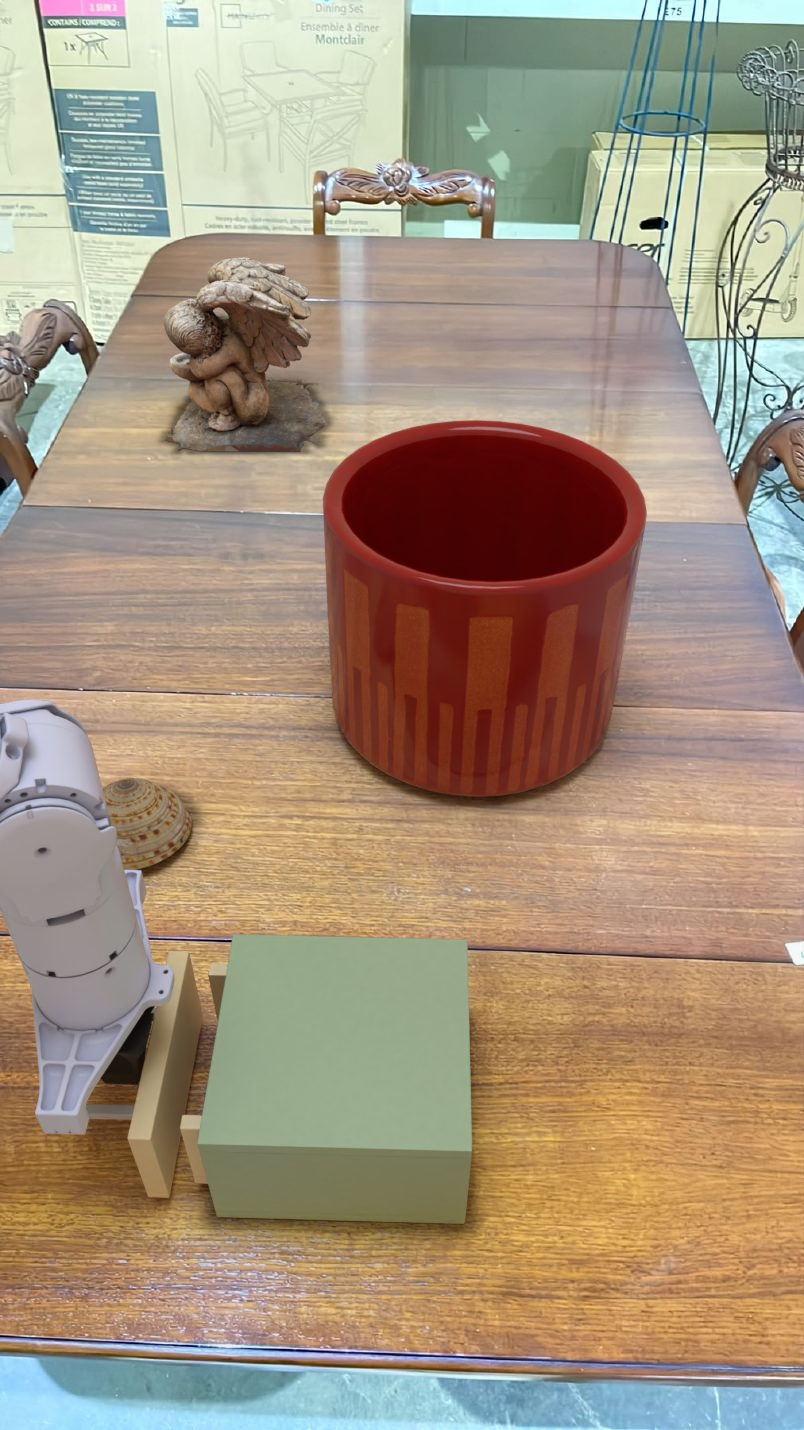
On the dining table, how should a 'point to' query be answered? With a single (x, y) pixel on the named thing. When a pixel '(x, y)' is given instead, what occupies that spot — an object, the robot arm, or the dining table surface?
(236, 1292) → the dining table surface
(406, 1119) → the cabinet
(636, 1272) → the dining table surface
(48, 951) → the robot arm
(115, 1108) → the drawer
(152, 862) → the seashell
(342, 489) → the planter
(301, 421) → the cherub figurine
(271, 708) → the dining table surface
